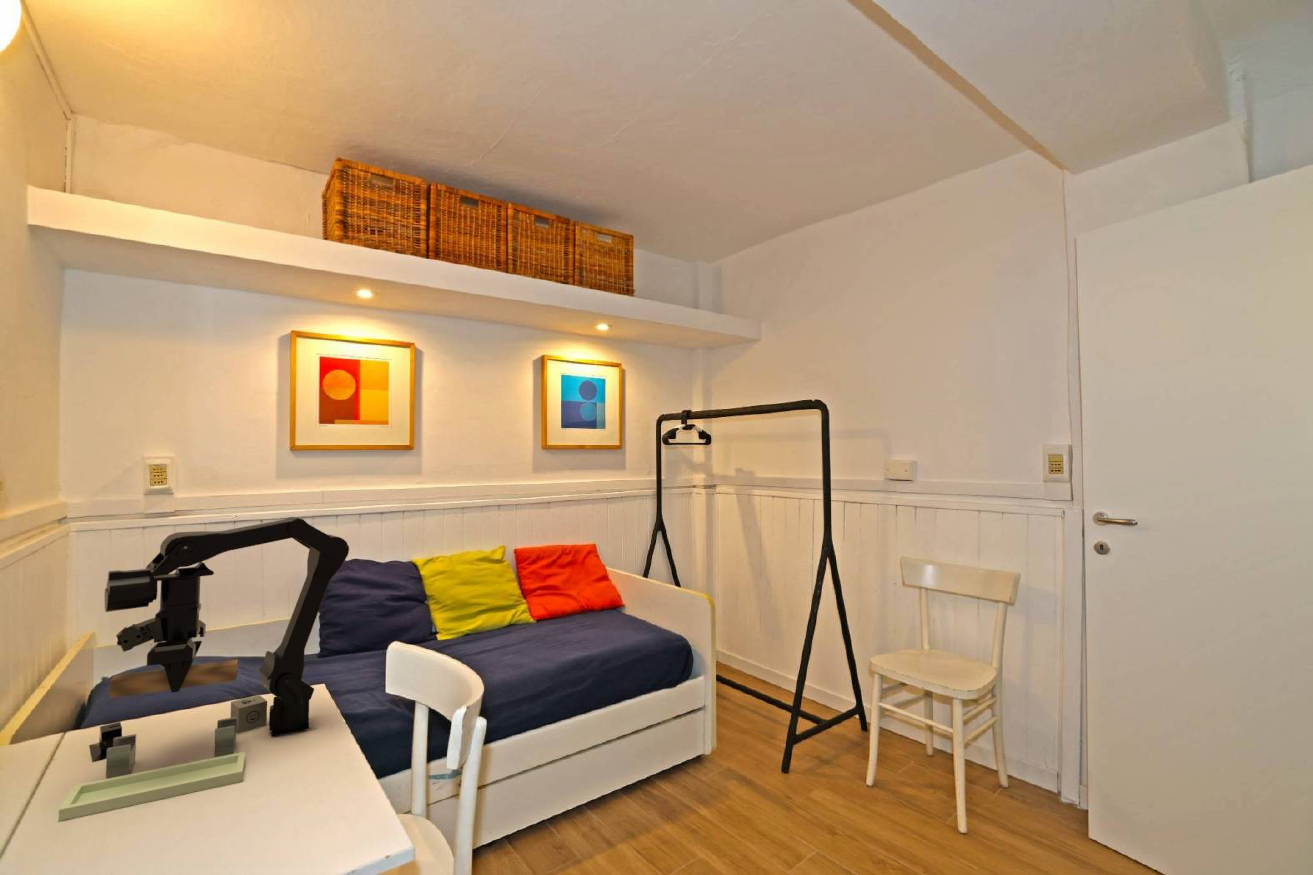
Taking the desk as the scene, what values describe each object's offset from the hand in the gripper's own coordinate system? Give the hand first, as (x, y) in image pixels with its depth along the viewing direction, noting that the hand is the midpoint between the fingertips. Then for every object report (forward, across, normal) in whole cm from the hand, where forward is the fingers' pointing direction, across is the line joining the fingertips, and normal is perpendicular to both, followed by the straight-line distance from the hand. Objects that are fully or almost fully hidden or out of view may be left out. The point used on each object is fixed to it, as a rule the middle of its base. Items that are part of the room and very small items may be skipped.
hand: (177, 688), depth 111 cm
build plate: (+14, -12, -11) cm, 21 cm away
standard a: (+13, 0, +8) cm, 15 cm away
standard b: (+13, 0, -7) cm, 15 cm away
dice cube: (+13, -10, +11) cm, 20 cm away
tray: (+13, +10, 0) cm, 17 cm away
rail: (0, 0, 0) cm, 0 cm away
